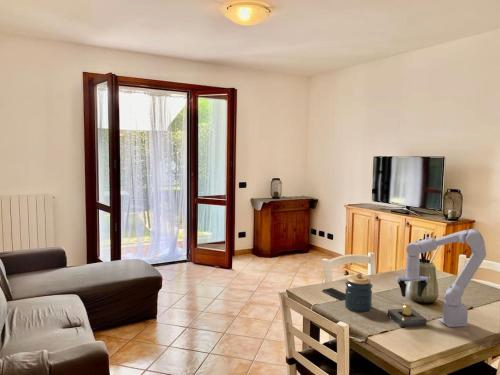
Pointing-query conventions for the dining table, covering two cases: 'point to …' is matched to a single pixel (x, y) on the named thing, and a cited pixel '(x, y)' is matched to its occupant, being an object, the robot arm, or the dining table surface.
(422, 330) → the dining table surface
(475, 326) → the dining table surface
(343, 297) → the phone
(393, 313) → the grey square socket block
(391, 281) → the dining table surface
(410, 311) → the piston
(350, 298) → the canister
